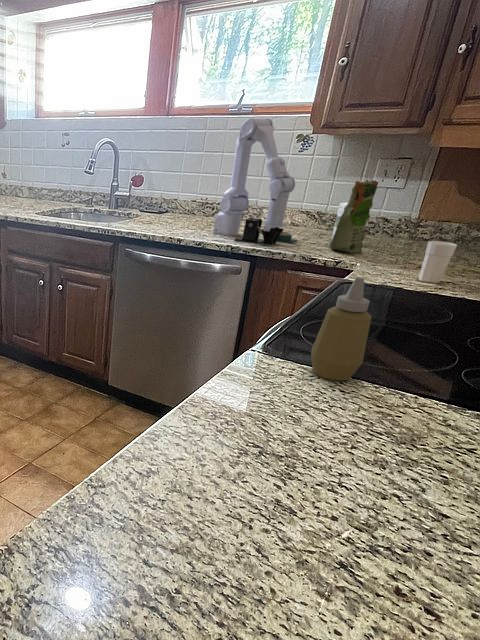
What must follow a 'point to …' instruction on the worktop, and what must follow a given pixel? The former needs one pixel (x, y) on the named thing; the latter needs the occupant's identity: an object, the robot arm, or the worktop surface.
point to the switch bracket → (251, 232)
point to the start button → (284, 232)
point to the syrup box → (338, 216)
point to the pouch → (354, 218)
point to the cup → (436, 260)
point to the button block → (286, 238)
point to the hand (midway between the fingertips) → (268, 248)
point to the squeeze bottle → (343, 336)
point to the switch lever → (259, 228)
